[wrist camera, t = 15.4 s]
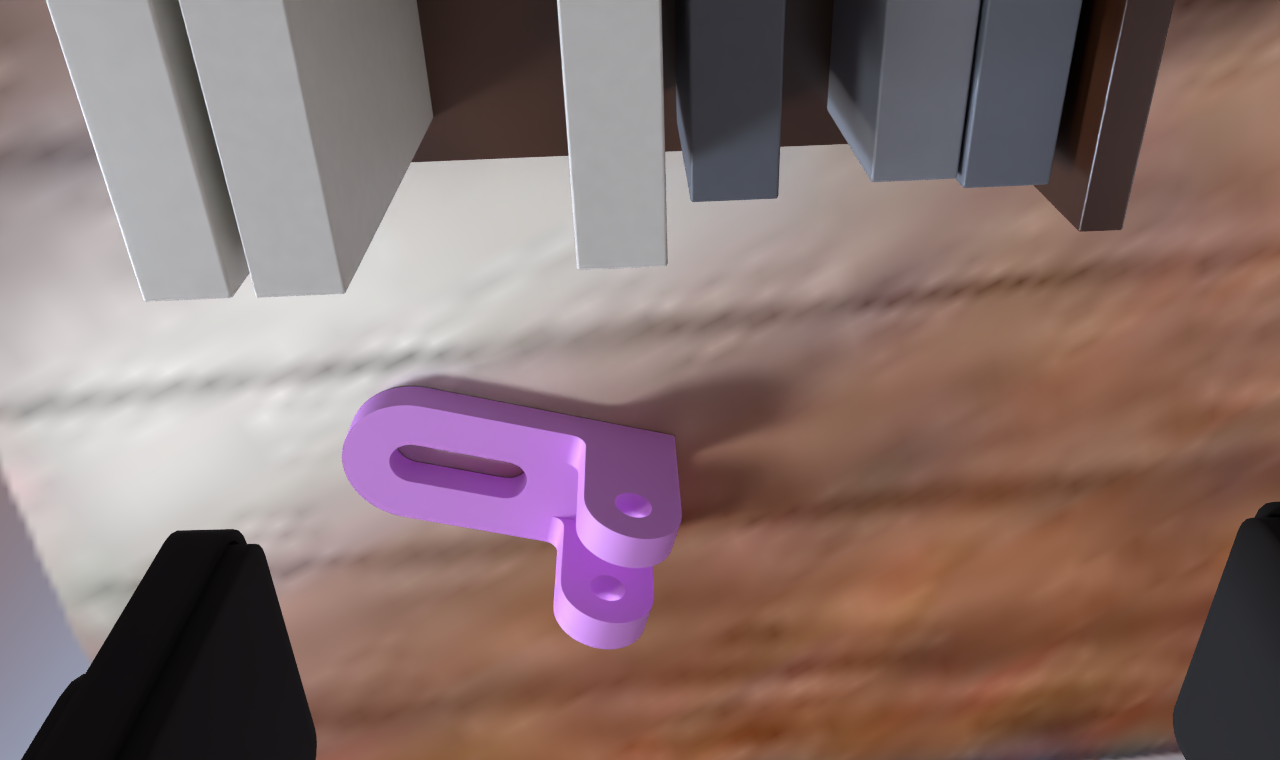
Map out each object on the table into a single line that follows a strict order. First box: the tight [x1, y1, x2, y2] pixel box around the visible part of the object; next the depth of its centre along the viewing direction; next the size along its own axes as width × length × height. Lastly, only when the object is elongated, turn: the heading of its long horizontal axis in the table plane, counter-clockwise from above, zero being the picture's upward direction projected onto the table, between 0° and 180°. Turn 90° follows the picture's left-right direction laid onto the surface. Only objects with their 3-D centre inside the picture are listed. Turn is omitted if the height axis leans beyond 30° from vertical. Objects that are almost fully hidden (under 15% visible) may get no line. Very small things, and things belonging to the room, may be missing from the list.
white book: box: [557, 0, 668, 270], centre depth 26 cm, size 2×8×13 cm, turn 2°
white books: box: [46, 0, 433, 301], centre depth 26 cm, size 4×8×13 cm, turn 2°
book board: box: [411, 0, 1175, 231], centre depth 29 cm, size 26×11×9 cm, turn 92°
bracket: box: [342, 386, 682, 649], centre depth 39 cm, size 13×6×7 cm, turn 76°
